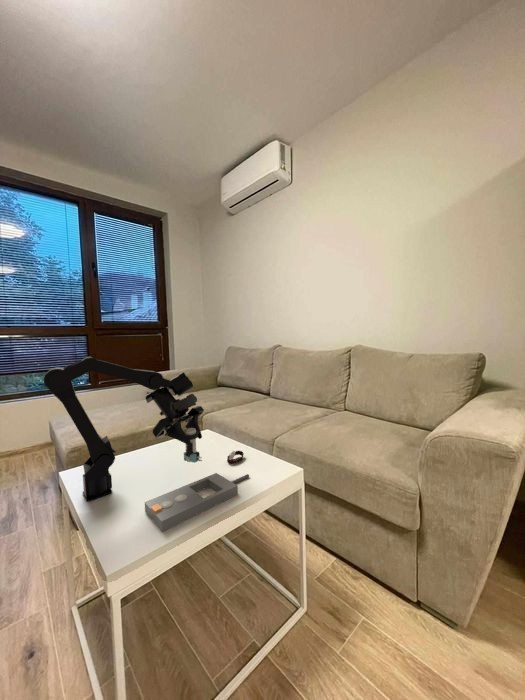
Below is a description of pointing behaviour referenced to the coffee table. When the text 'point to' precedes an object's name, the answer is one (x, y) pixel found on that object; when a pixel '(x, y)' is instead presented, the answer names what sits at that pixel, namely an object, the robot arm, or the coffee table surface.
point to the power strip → (189, 500)
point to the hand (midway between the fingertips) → (195, 440)
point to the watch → (233, 456)
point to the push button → (191, 446)
